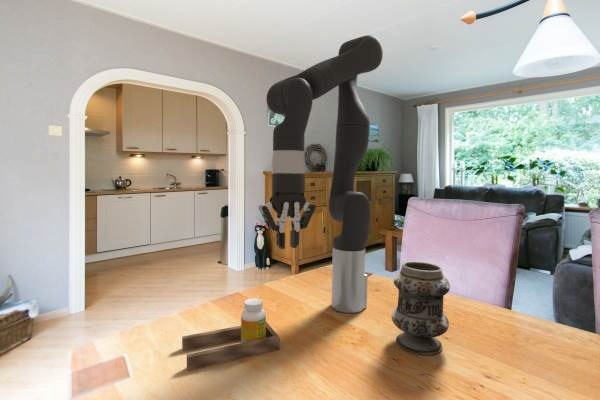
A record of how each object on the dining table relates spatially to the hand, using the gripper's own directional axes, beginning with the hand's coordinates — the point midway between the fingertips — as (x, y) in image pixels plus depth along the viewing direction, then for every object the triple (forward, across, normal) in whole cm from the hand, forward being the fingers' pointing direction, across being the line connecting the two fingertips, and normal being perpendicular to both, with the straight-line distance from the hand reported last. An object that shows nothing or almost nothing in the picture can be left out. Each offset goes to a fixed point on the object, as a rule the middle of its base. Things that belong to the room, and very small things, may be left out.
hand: (287, 247), depth 75 cm
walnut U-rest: (+21, +13, 0) cm, 25 cm away
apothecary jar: (+21, -26, +15) cm, 37 cm away
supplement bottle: (+21, +8, 0) cm, 23 cm away
